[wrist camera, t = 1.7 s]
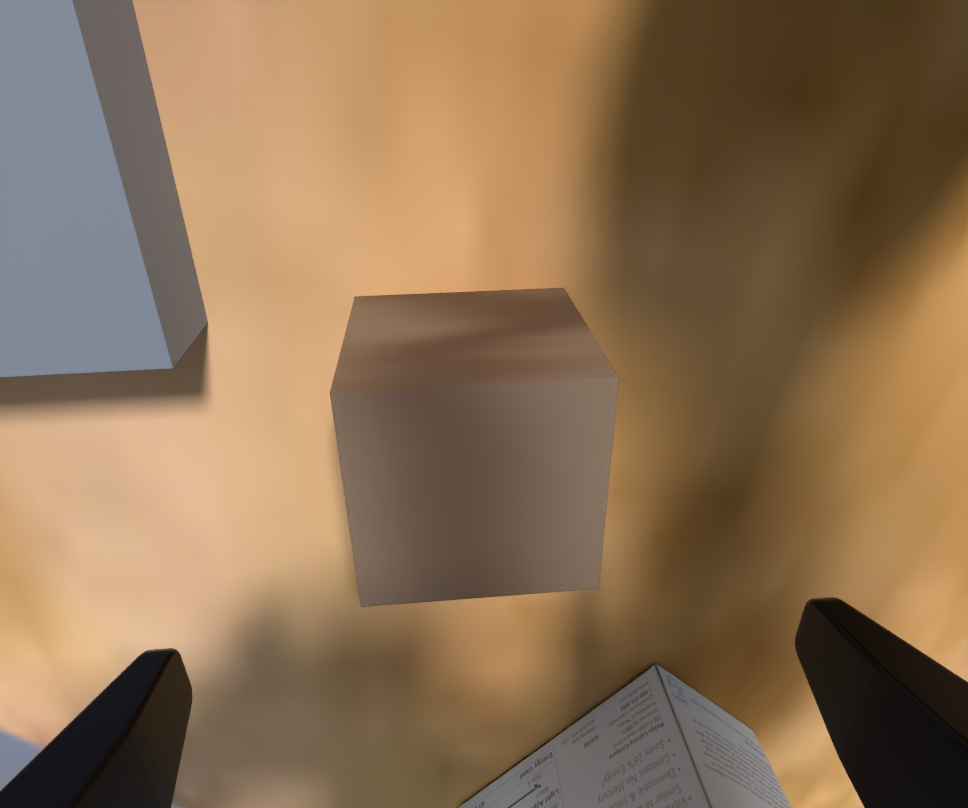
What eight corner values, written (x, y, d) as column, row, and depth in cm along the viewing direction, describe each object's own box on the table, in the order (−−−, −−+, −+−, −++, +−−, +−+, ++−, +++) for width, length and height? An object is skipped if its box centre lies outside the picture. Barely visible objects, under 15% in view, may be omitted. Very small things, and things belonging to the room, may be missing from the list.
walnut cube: (563, 286, 16) (618, 377, 11) (555, 459, 18) (598, 588, 14) (355, 295, 15) (330, 393, 11) (375, 469, 18) (360, 606, 13)
